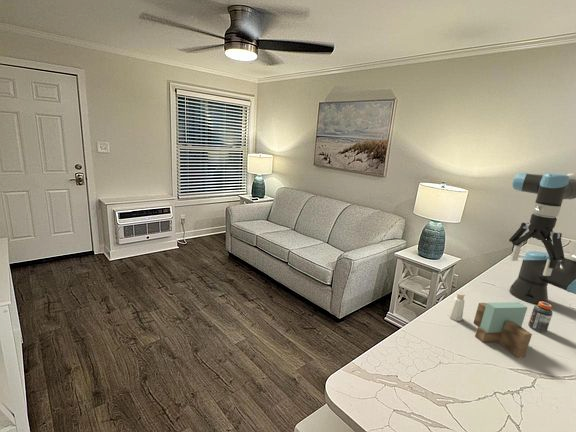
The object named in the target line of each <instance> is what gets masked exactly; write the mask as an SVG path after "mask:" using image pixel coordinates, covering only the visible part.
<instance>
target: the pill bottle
mask: <svg viewBox="0 0 576 432" xmlns="http://www.w3.org/2000/svg"><path fill="white" fill-rule="evenodd" d="M551 309H552V305H551V304H550V303H548V302H547V303H546V302H542V301H540V302H539V303H538V304H537V305H534V307H533V309H532V312H531V314H530V319H529V321H528V327H529V328H530V329H531V330H533V331H535V332H538V333H542V334H543V333H546V332H548V329H549V326H550V323H551V319H552V317H553V311H552V310H551Z"/></svg>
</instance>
